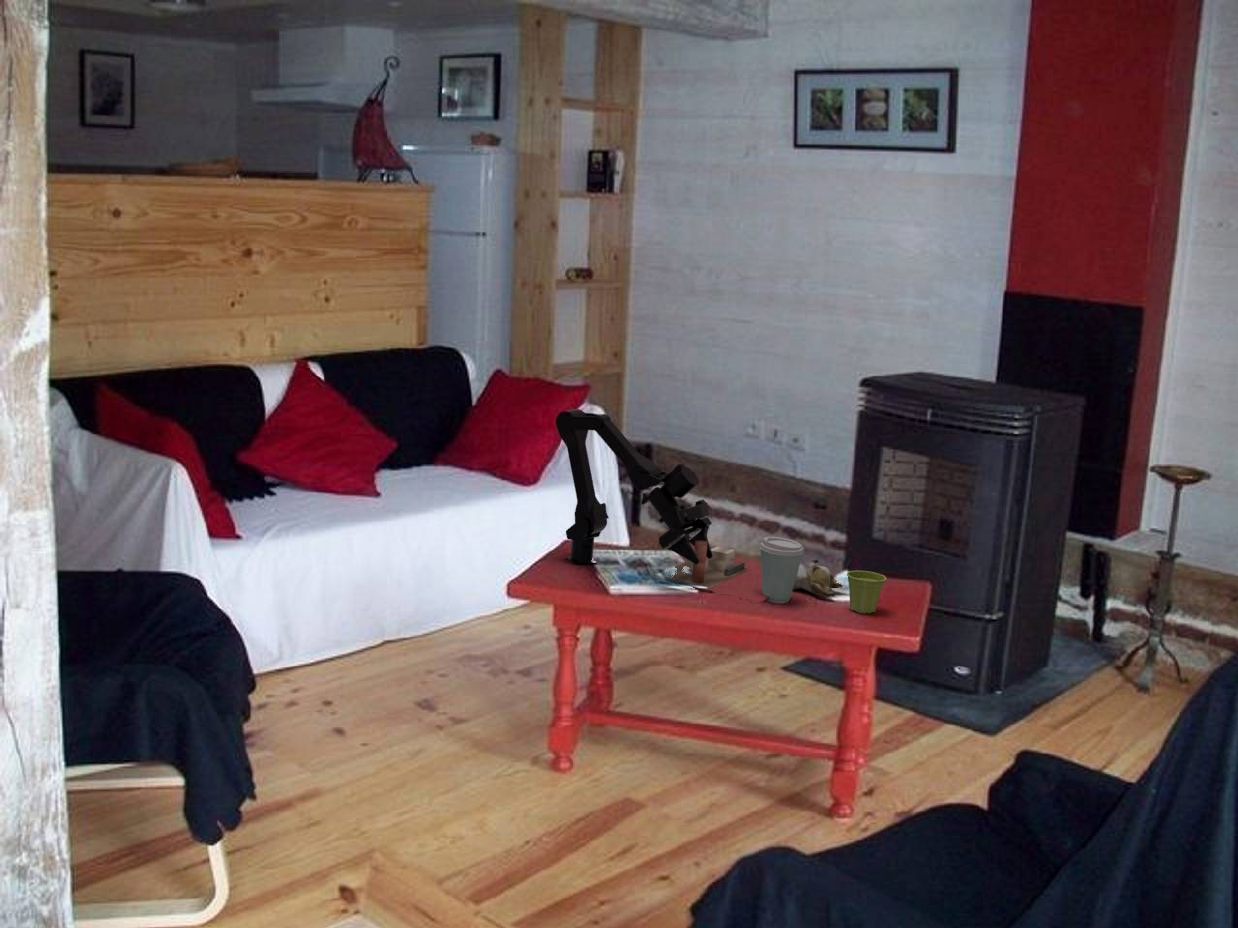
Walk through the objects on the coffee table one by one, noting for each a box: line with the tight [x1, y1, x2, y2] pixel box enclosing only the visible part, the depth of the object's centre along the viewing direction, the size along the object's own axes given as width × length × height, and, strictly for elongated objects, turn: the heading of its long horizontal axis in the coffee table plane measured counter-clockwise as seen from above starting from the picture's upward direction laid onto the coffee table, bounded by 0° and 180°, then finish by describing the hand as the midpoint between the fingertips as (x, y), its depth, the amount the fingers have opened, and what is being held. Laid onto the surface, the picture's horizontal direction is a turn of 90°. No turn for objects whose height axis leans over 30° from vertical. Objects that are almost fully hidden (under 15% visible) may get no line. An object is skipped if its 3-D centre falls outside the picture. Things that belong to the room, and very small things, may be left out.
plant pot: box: [846, 570, 887, 614], centre depth 343 cm, size 9×9×9 cm
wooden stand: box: [667, 540, 752, 593], centre depth 360 cm, size 16×24×11 cm, turn 151°
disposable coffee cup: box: [759, 536, 805, 605], centre depth 345 cm, size 11×11×15 cm
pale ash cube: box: [707, 546, 736, 573], centre depth 365 cm, size 5×5×5 cm
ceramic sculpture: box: [793, 559, 844, 598], centre depth 355 cm, size 11×9×15 cm
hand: (704, 560), depth 350 cm, fingers open, 7 cm apart
